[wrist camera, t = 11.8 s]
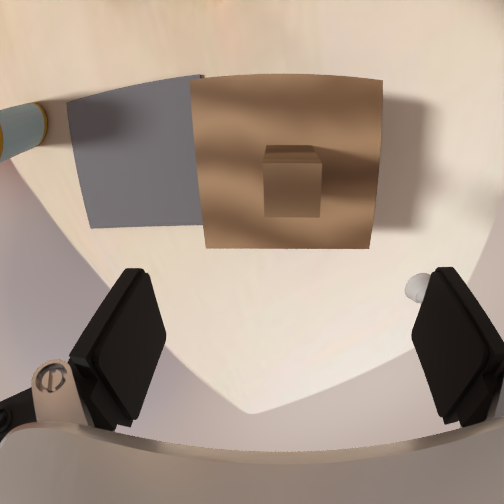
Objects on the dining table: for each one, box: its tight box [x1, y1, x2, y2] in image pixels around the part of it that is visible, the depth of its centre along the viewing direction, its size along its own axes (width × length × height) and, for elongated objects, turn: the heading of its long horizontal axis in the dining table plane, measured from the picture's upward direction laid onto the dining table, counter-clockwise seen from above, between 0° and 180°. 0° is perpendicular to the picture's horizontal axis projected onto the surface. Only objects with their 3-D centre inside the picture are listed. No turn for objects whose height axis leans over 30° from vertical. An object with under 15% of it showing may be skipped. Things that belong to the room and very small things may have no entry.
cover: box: [190, 74, 383, 249], centre depth 24 cm, size 17×17×8 cm
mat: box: [67, 75, 203, 229], centre depth 36 cm, size 19×19×1 cm
